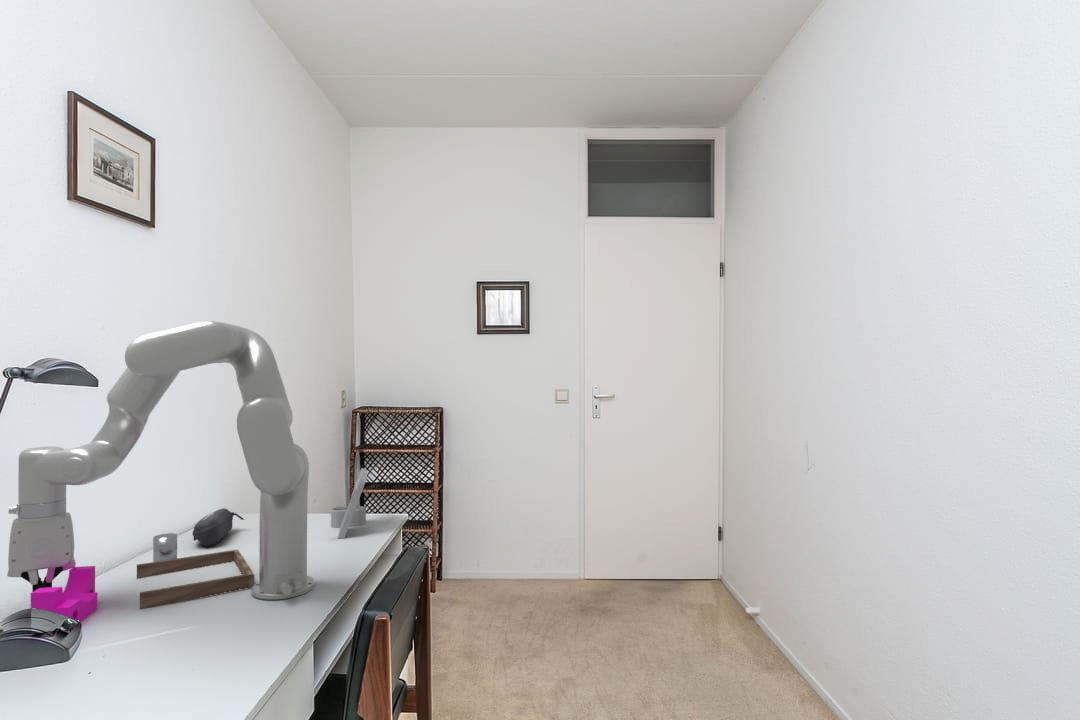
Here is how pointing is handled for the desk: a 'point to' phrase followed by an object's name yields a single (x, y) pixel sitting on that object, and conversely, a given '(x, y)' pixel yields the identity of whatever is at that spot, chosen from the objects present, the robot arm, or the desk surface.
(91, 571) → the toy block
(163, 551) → the metal peg
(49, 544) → the robot arm
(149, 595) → the bay
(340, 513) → the phone holder
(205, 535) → the glasses case
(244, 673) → the desk surface
